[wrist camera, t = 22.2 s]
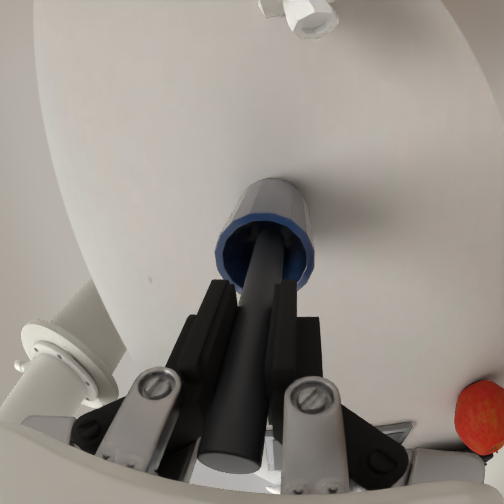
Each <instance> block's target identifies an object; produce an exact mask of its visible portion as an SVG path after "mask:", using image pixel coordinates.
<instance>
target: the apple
mask: <svg viewBox="0 0 504 504" xmlns="http://www.w3.org/2000/svg"><path fill="white" fill-rule="evenodd" d="M454 424H455V428H456V432H457V433H458V435H459V437H460V438H461V440H462V441H463V442H464V443H465V444H466V445H467V446H468V447H469V448H470V449H471V450H472V451H474V452H476V453H477V454H480V455H488V454H491V453H494V452H496V453H498V452H497V451H498V450H499V449H500V448H501V447H502V446H503V445H504V388H502V387H501V386H499V385H497V384H496V383H494V382H492V381H489V380H483V381H479V382H477V383H474V384H472V385H469V386H468V387H467V388H466V389H464V390H463V391H462V393H461V394H460V395H459V397H458V401H457V404H456V411H455V419H454Z"/></svg>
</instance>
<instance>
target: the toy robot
mask: <svg viewBox="0 0 504 504" xmlns="http://www.w3.org/2000/svg"><path fill="white" fill-rule="evenodd" d="M334 1H335V0H257V2H258V4H259V6H258V8H260V9H261V10H262V12H263V14H264V16H265V19H267V18H270V17H273V16H277V15H280V14H284V13H285V16H286V19H287V22H288V25H289V26H290V28H291V30H292V32H293V33H295V34H296V35H297V36H298V37H300V38H301V39H318V38H320V37H322V36H324V35H326V34H329V33H331V32H333V31H334V29H335V28H336V26H337V25H338V23H339V18H338V14H337V13H336V12H335V10H334V9H333V8H332V7H331V6H330V5H329V4H328V3H333V2H334Z"/></svg>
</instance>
